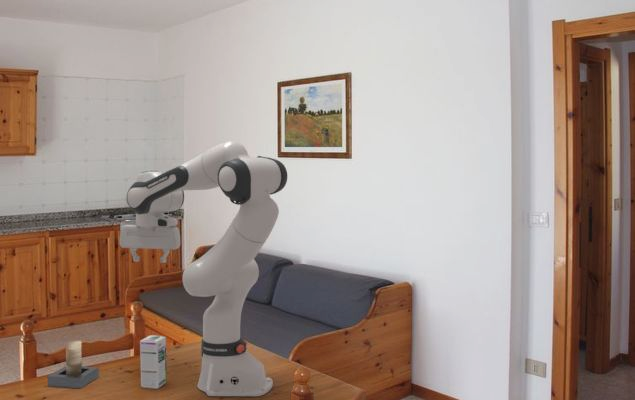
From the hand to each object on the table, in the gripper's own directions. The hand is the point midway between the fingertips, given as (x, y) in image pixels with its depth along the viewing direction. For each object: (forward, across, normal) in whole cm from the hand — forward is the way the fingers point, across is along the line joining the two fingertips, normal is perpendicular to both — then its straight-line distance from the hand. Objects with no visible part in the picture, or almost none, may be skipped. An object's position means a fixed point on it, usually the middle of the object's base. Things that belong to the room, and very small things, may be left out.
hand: (149, 262), depth 208 cm
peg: (+34, -15, -21) cm, 43 cm away
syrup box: (+34, +10, -19) cm, 40 cm away
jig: (+34, -15, -21) cm, 43 cm away
